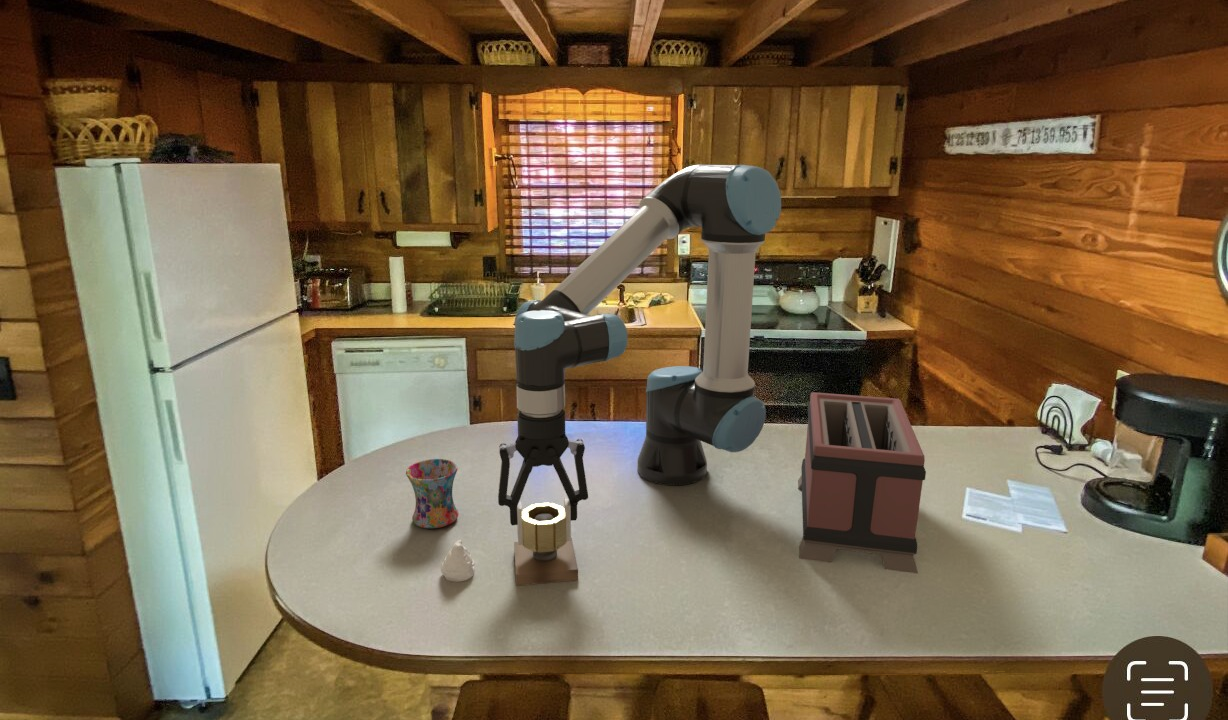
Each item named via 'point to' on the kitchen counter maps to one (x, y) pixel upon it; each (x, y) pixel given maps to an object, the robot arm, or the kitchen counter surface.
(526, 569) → the shaft block
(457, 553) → the garlic bulb
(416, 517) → the mug
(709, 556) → the kitchen counter surface
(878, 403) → the toaster
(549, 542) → the ring
